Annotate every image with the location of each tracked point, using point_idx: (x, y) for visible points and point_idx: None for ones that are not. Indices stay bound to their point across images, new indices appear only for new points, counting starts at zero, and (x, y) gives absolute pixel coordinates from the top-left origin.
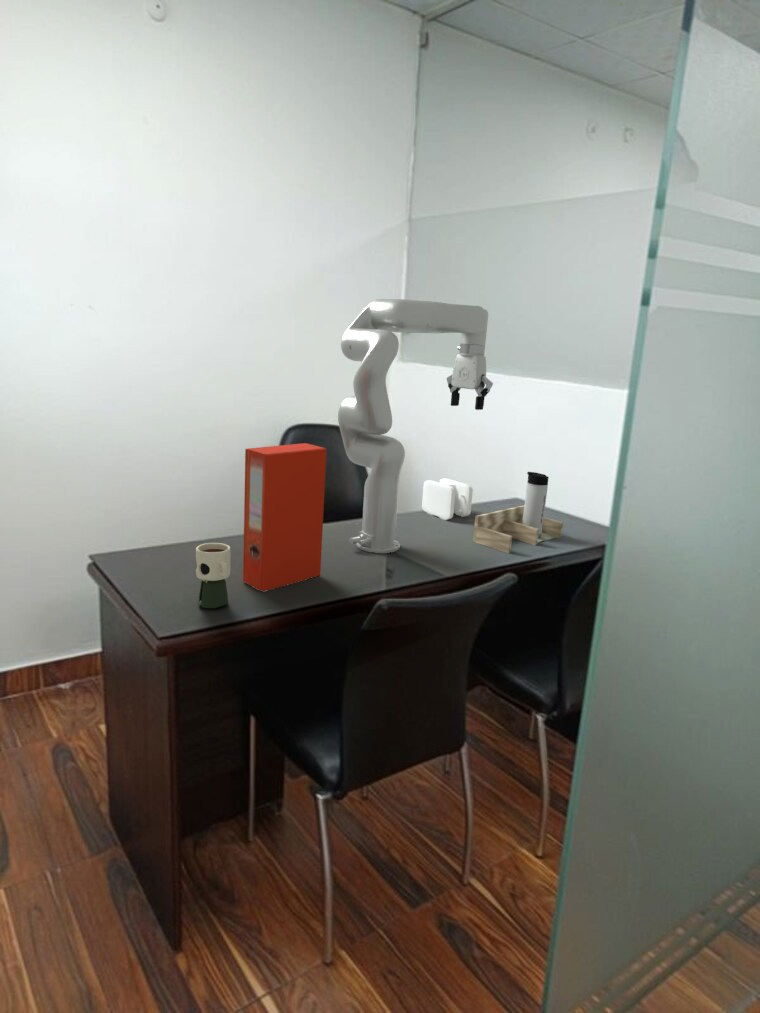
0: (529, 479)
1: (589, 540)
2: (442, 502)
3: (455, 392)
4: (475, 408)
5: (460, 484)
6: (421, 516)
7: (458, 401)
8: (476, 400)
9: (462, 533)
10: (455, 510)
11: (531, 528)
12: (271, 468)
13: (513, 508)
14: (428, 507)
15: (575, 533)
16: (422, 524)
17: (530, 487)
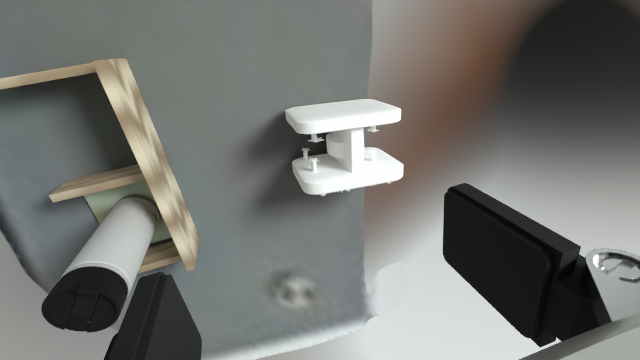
0: (87, 273)
1: None
2: (317, 110)
3: (559, 296)
4: (155, 276)
5: (335, 178)
6: (341, 74)
7: (465, 273)
8: (123, 355)
9: (195, 79)
10: (324, 155)
11: (66, 190)
12: None
13: (162, 211)
14: (353, 101)
15: None
16: (288, 32)
17: (86, 259)
